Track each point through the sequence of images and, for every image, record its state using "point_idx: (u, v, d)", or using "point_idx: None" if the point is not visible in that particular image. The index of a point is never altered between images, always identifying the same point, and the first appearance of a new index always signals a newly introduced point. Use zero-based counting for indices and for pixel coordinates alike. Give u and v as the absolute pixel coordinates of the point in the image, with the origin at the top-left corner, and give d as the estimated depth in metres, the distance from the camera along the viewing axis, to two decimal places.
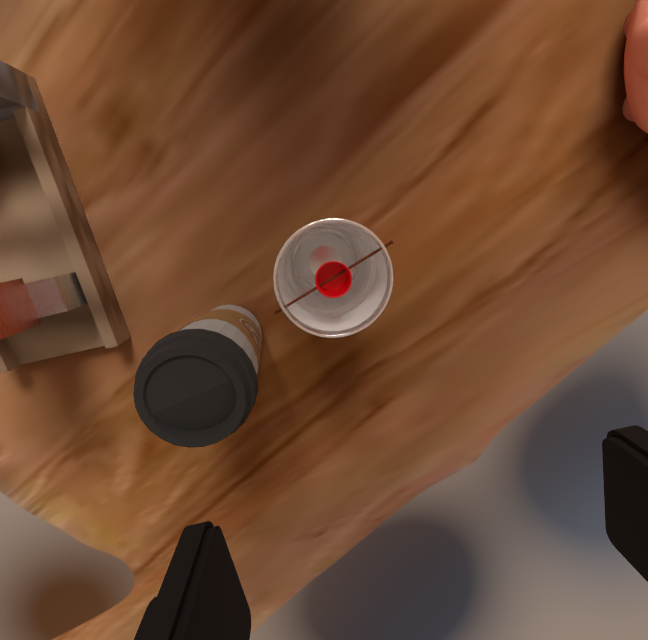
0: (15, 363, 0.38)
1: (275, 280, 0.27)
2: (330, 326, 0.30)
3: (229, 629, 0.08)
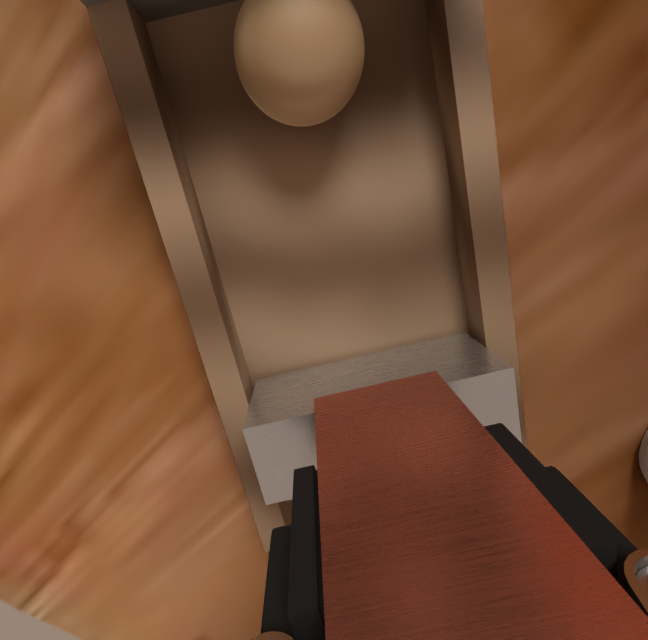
0: (290, 520, 0.18)
1: None
2: None
3: None
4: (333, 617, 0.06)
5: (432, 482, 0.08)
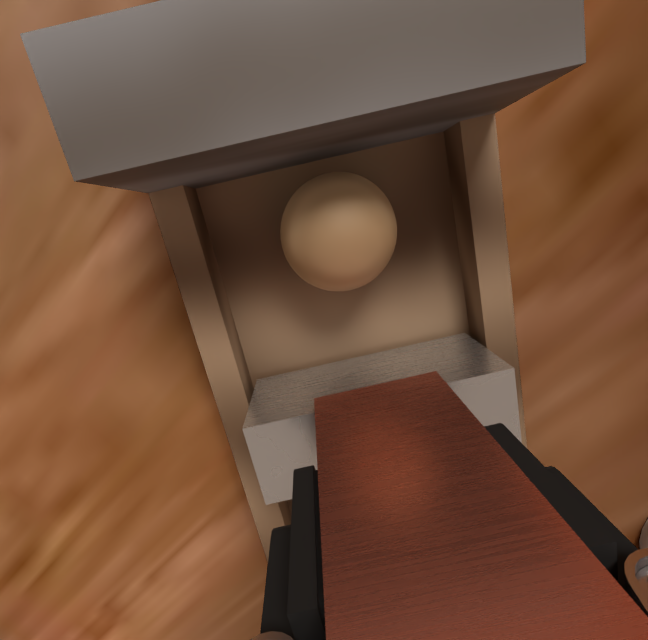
0: None
1: None
2: None
3: None
4: (334, 616, 0.06)
5: (432, 482, 0.08)
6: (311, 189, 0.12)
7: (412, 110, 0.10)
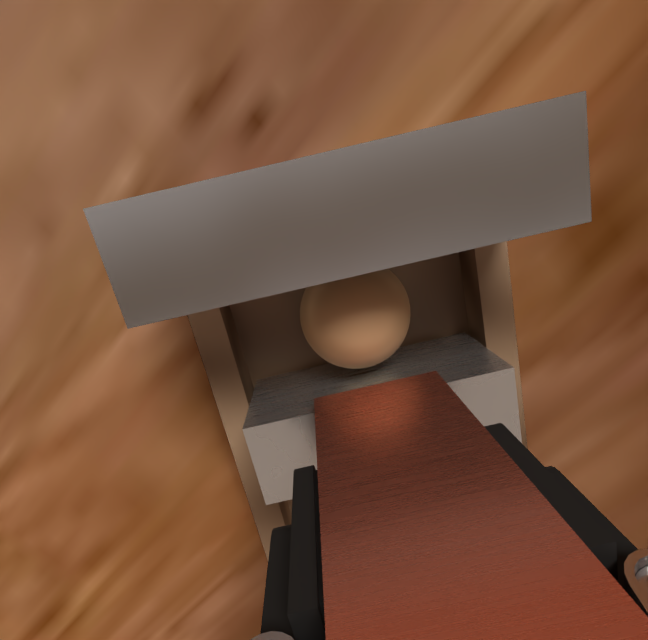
0: None
1: None
2: None
3: None
4: (334, 616, 0.06)
5: (432, 482, 0.08)
6: None
7: None
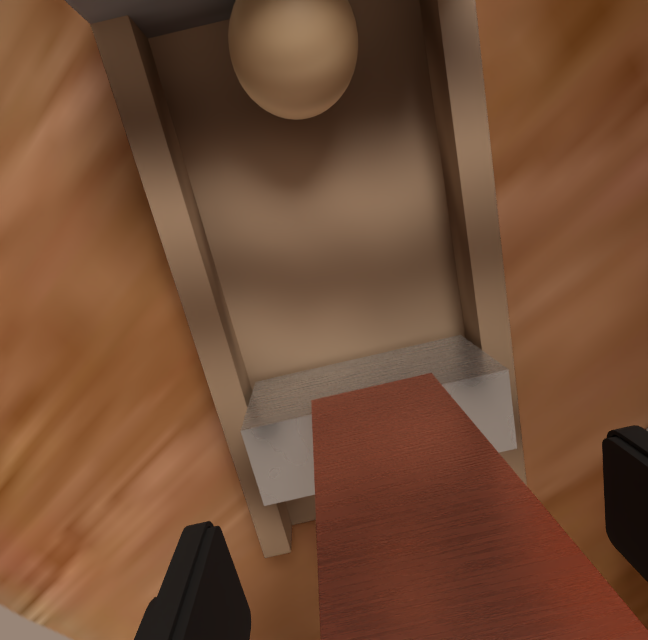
0: (289, 525, 0.18)
1: None
2: None
3: (229, 629, 0.08)
4: (328, 612, 0.06)
5: (426, 482, 0.08)
6: None
7: None
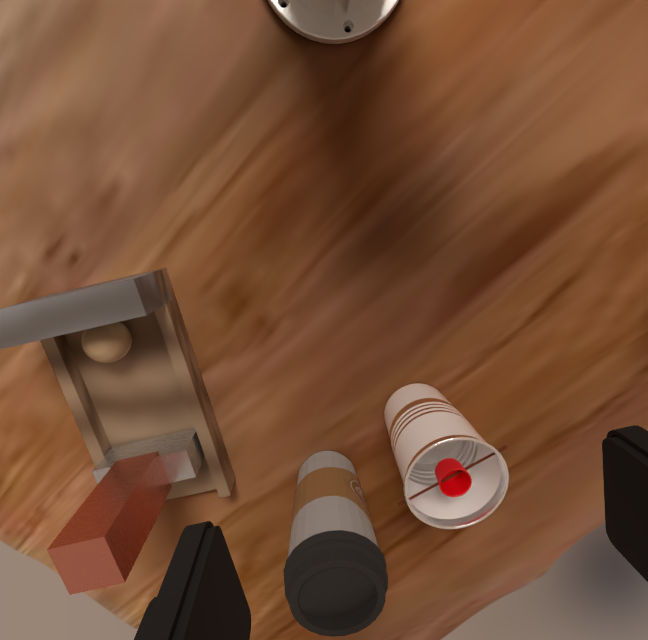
0: None
1: (406, 486, 0.31)
2: (443, 508, 0.34)
3: (229, 629, 0.08)
4: (73, 517, 0.29)
5: (115, 490, 0.31)
6: None
7: None
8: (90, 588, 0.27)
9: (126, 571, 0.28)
